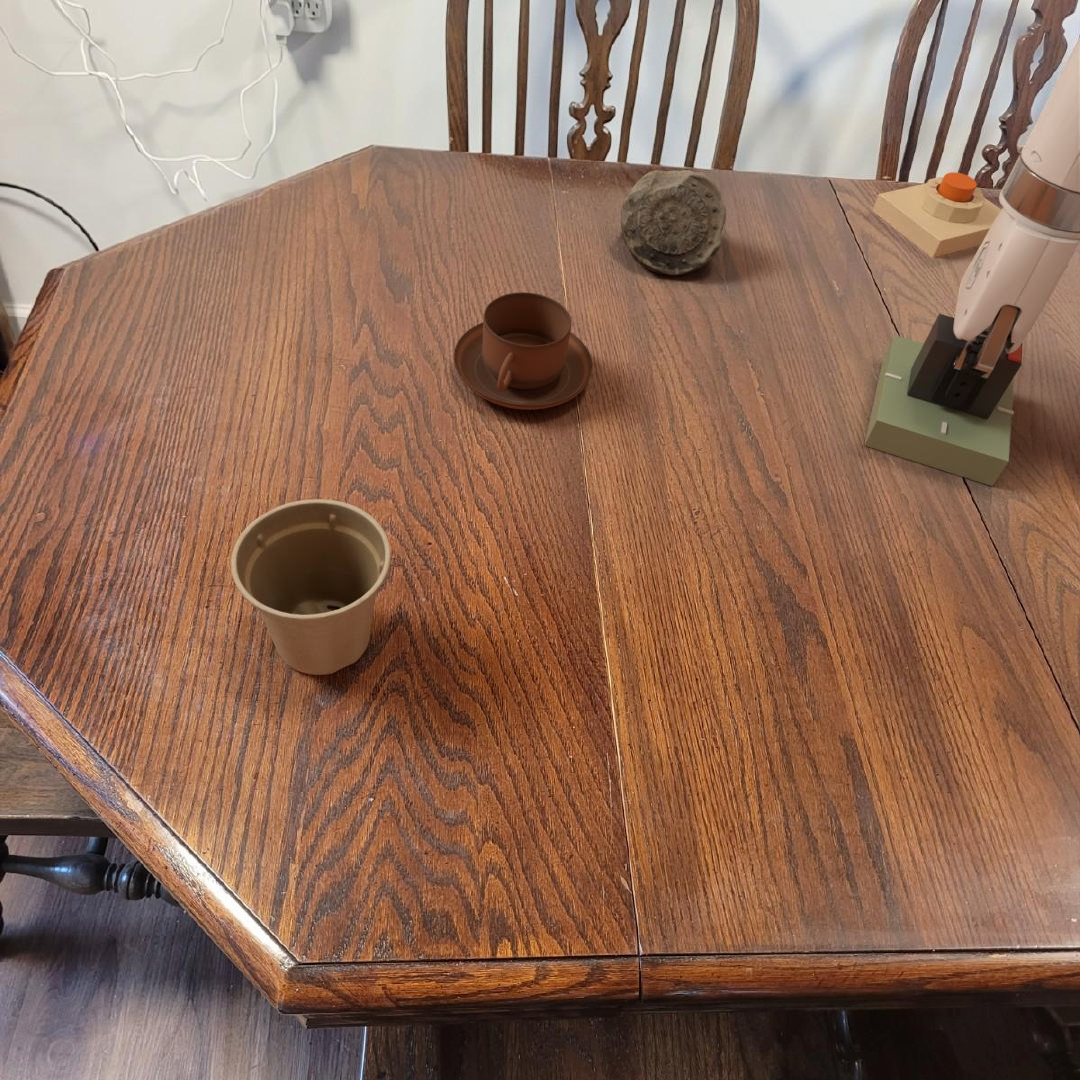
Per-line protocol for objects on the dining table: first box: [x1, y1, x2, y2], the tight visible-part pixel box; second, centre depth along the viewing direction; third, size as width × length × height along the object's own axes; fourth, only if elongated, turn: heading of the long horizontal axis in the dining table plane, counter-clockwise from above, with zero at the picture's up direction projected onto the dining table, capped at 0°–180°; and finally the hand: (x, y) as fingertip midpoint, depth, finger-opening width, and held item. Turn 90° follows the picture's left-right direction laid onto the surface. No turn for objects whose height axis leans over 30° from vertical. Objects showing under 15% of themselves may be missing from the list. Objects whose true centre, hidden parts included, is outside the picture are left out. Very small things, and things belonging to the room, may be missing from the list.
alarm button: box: [938, 171, 978, 203], centre depth 104 cm, size 4×4×2 cm
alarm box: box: [871, 176, 1002, 259], centre depth 106 cm, size 12×10×4 cm
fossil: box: [620, 169, 727, 277], centre depth 96 cm, size 11×9×10 cm
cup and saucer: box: [453, 291, 593, 411], centre depth 80 cm, size 12×12×6 cm
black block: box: [907, 313, 1023, 419], centre depth 80 cm, size 7×4×6 cm, turn 70°
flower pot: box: [230, 498, 392, 676], centre depth 60 cm, size 9×9×9 cm
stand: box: [863, 334, 1015, 487], centre depth 83 cm, size 13×11×3 cm
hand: (952, 386), depth 81 cm, fingers closed on black block, 4 cm apart
